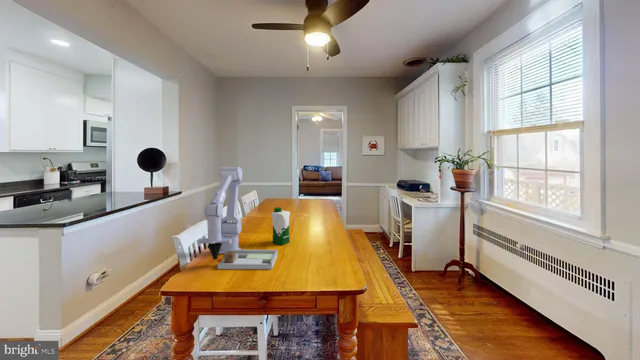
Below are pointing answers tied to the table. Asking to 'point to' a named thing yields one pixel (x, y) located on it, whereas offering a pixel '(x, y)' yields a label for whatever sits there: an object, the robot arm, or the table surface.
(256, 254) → the tray
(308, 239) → the table surface
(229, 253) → the walnut block
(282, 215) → the milk carton
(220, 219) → the robot arm
